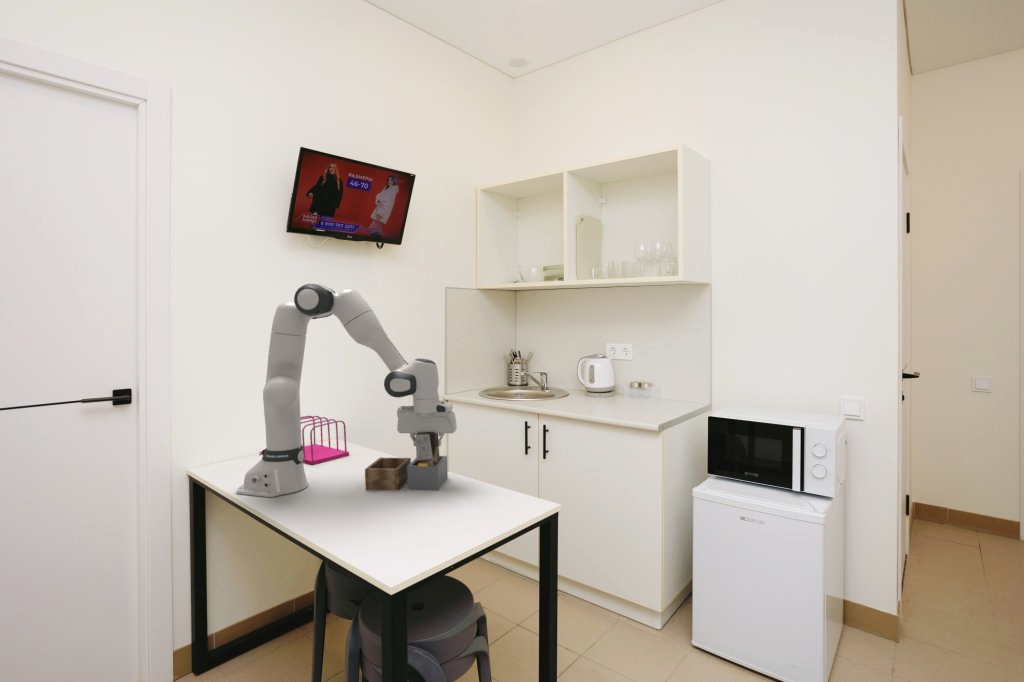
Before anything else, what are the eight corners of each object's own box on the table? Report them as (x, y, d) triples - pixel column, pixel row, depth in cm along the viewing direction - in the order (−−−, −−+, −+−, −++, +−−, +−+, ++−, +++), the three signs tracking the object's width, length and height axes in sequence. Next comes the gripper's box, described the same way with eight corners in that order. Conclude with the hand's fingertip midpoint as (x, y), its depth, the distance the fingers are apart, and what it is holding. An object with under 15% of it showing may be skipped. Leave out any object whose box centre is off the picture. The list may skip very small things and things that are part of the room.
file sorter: (312, 465, 208) (310, 426, 208) (278, 456, 223) (276, 419, 223) (349, 455, 222) (348, 418, 221) (315, 447, 237) (314, 412, 236)
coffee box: (436, 480, 178) (433, 433, 178) (417, 481, 179) (414, 434, 178) (441, 472, 187) (438, 427, 187) (423, 473, 188) (420, 428, 187)
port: (408, 490, 177) (407, 464, 177) (419, 477, 190) (418, 453, 190) (438, 490, 176) (437, 464, 175) (447, 477, 189) (447, 453, 189)
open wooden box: (365, 489, 178) (364, 469, 178) (380, 476, 192) (380, 457, 192) (398, 490, 177) (397, 469, 176) (411, 476, 191) (410, 457, 191)
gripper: (393, 407, 180) (395, 447, 180) (453, 407, 178) (454, 448, 178) (399, 404, 186) (400, 443, 187) (457, 404, 184) (458, 443, 185)
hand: (427, 445), depth 182 cm, fingers closed on coffee box, 6 cm apart
